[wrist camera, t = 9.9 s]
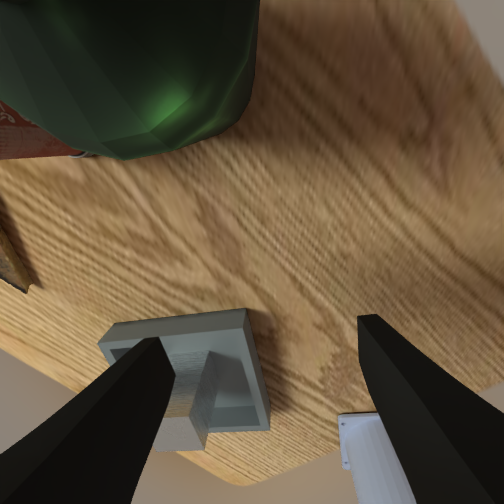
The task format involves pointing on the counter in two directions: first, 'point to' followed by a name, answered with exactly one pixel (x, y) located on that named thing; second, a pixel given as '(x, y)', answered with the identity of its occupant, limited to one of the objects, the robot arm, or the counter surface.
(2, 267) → the shard
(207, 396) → the aluminium block
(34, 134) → the lighter
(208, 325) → the tray
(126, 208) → the counter surface
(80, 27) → the potion bottle
